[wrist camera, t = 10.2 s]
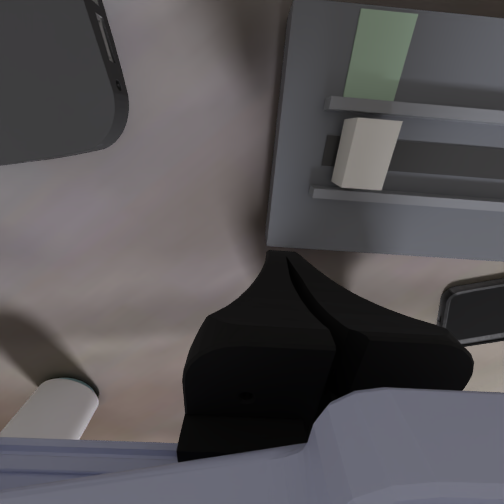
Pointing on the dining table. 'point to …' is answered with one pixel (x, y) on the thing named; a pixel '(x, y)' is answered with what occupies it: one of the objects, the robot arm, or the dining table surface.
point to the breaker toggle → (365, 152)
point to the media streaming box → (58, 80)
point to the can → (54, 411)
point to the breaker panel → (409, 139)
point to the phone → (474, 312)
